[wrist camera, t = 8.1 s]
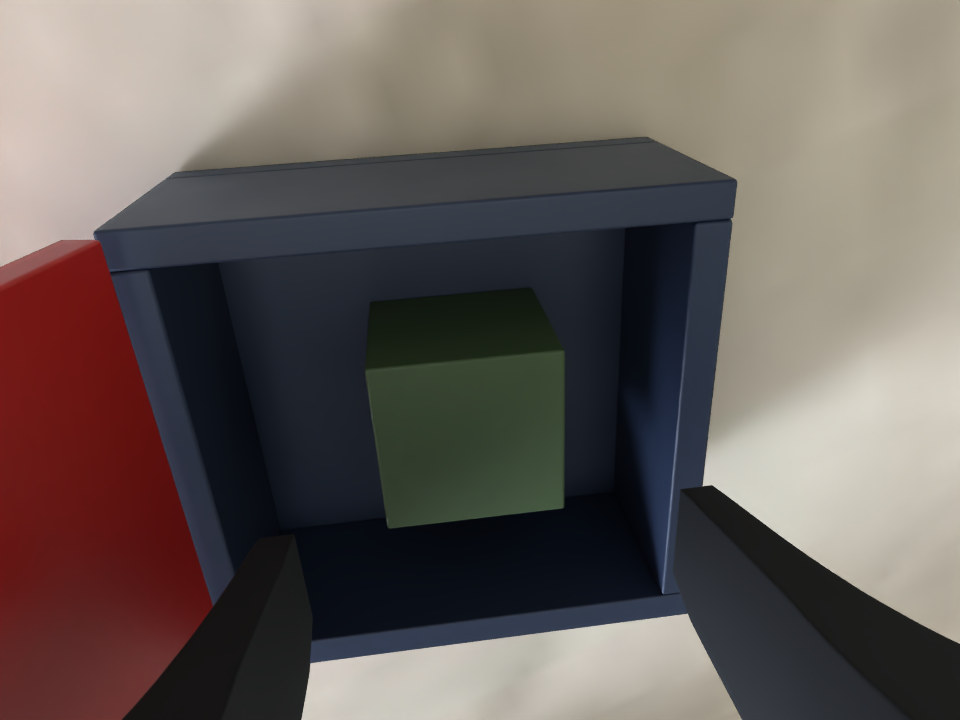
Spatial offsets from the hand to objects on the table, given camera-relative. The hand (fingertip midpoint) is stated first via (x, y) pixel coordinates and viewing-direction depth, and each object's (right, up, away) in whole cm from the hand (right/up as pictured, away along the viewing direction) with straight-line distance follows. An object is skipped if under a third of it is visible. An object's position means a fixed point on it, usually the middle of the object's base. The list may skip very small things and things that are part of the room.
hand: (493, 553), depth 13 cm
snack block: (-1, +3, +7) cm, 8 cm away
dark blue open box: (-2, +4, +7) cm, 8 cm away
